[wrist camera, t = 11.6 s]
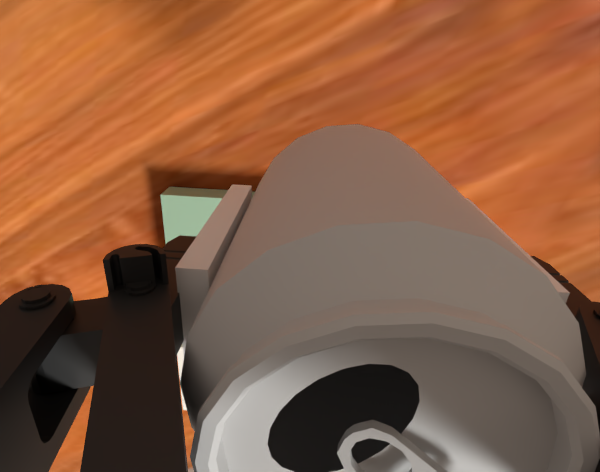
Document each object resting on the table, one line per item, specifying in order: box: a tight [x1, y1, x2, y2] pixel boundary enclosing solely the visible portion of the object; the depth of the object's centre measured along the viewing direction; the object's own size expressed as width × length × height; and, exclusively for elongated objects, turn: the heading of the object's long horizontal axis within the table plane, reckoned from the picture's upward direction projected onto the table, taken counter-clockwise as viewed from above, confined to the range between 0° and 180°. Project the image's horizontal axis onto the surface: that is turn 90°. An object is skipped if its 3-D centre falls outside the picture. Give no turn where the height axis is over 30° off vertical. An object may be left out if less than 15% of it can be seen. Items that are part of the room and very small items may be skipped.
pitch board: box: [160, 187, 255, 244], centre depth 32 cm, size 13×12×2 cm
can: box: [180, 124, 600, 472], centre depth 11 cm, size 8×8×12 cm
